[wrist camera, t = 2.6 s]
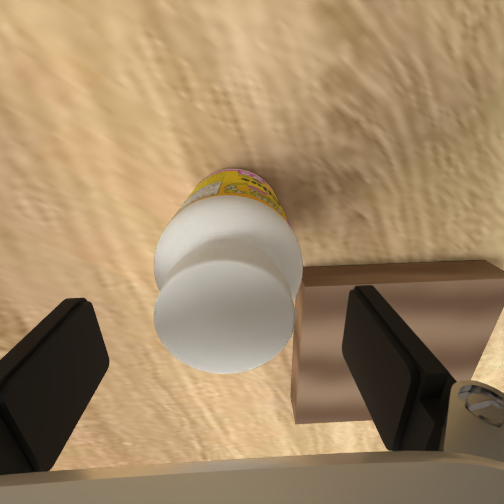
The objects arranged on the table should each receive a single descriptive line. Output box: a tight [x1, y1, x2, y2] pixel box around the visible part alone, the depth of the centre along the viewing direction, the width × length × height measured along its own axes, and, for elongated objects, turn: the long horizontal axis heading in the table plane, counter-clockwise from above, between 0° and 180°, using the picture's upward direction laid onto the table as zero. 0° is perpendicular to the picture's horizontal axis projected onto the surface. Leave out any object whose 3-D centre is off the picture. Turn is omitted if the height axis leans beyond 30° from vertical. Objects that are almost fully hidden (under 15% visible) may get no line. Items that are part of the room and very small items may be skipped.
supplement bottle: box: [154, 169, 303, 374], centre depth 15 cm, size 7×7×13 cm
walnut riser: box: [291, 260, 504, 424], centre depth 25 cm, size 16×16×3 cm
